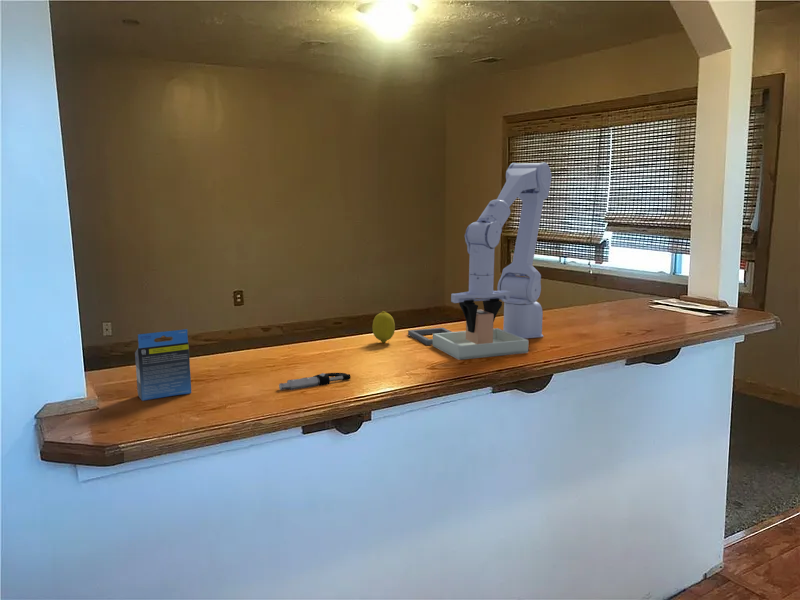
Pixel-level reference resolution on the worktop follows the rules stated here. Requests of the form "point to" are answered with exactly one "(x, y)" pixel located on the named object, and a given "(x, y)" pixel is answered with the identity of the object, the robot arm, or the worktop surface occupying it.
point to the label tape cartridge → (163, 365)
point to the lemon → (383, 326)
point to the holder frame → (418, 333)
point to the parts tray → (479, 345)
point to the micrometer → (313, 381)
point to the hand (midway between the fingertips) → (479, 331)
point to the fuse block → (482, 328)
